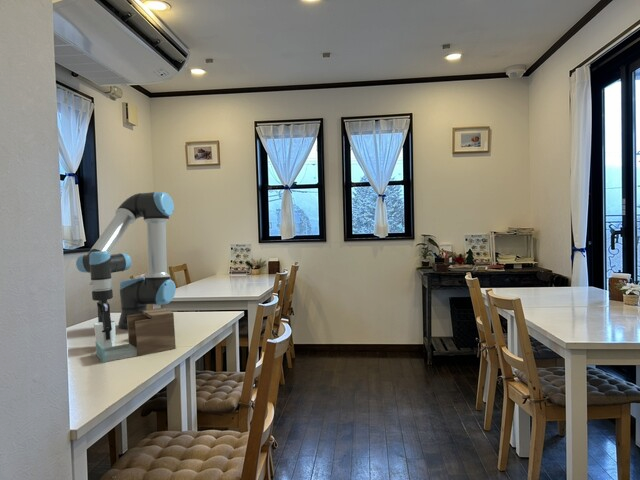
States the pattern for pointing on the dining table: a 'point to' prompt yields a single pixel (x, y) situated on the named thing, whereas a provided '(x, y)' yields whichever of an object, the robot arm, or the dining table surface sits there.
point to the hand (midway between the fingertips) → (106, 345)
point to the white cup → (99, 334)
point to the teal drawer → (115, 352)
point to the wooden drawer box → (152, 331)
